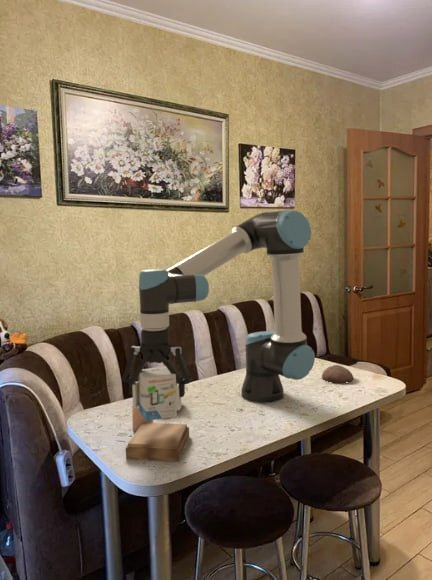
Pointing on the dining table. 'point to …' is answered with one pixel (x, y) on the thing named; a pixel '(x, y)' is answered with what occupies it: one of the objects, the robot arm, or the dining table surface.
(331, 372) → the decorative stone
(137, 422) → the peach domed cylinder
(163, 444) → the stand
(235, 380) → the dining table surface
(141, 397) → the ink box
